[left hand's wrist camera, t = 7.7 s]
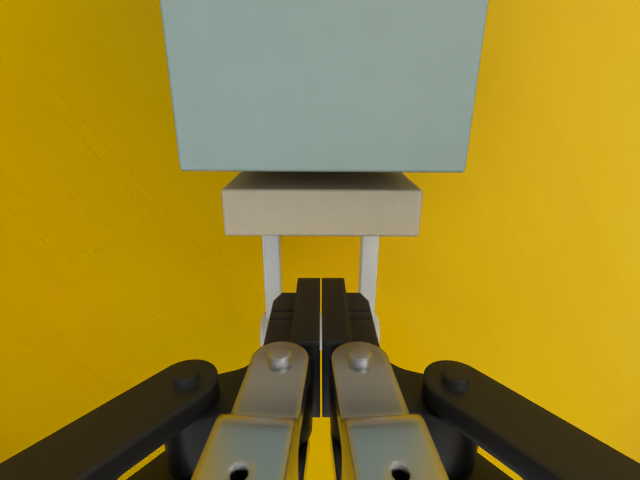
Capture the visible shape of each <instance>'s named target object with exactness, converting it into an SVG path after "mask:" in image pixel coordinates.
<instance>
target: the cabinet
mask: <svg viewBox="0 0 640 480" xmlns="http://www.w3.org/2000/svg"><path fill="white" fill-rule="evenodd" d="M160 5H161V14H162V22H163V30H164V38H165V47H166V55H167V63H168V71H169V80H170V88H171V96H172V105H173V113H174V121H175V129H176V138H177V146H178V154H179V163H180V169H181V170H183V171H278V172H464V171H465V166H466V159H467V152H468V145H469V137H470V130H471V123H472V116H473V108H474V101H475V94H476V87H477V79H478V72H479V65H480V57H481V50H482V43H483V36H484V28H485V21H486V14H487V7H488V0H160Z"/></svg>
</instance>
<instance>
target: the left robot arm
mask: <svg viewBox="0 0 640 480" xmlns="http://www.w3.org/2000/svg"><path fill="white" fill-rule="evenodd" d="M312 417H320V278H298V282H297V291H296V293H281V294H280V295H279V296H278V297H277V298H276V299H275V300H274V301H273V305H272V309H271V313H270V318H269V322H268V326H267V331H266V335H265V340H264V344H263V346H262V347H261V348H259V349H258V350H257V351H256V352H255V353H254V354H253V356H252V358H251V361H250V364H249V365H248V366H246V367H244V368H241V369H239V370H235V371H231V372H227V373H222V374H218V372H217V369H216V368H215V366H214V365H213V364H211V363H209V362H207V361H204V360H186V361H182V362H178V363H176V364H173V365H171V366H169V367H168V368H166V369H164V370H162V371H161V372H159V373H157V374H155V375H154V376H152V377H150V378H148V379H147V380H145V381H143V382H142V383H140V384H138V385H136V386H135V387H133V388H131V389H129V390H128V391H126V392H124V393H122V394H121V395H119V396H117V397H115V398H114V399H112V400H110V401H108V402H107V403H105V404H103V405H102V406H100V407H98V408H96V409H95V410H93V411H91V412H89V413H88V414H86V415H84V416H82V417H81V418H79V419H77V420H75V421H74V422H72V423H70V424H68V425H67V426H65V427H63V428H61V429H60V430H58V431H56V432H55V433H53V434H51V435H49V436H48V437H46V438H44V439H42V440H41V441H39V442H37V443H35V444H34V445H32V446H30V447H28V448H27V449H25V450H23V451H21V452H20V453H18V454H16V455H15V456H13V457H11V458H9V459H8V460H6V461H4V462H2V463H1V464H0V480H117V479H118V478H119V477H120V476H121V475H122V474H124V473H125V472H126V471H128V470H129V469H130V468H132V467H133V466H134V465H136V464H137V463H139V462H140V461H141V460H143V459H144V458H145V457H147V456H148V455H149V454H151V453H152V452H154V451H155V450H156V449H158V448H159V447H160V446H162V445H163V444H165V451H164V452H163V453H161V454H160V455H159V456H157V457H156V458H155V459H153V460H152V461H151V462H149V463H148V464H147V465H145V466H144V467H143V468H141V469H140V470H139V471H137V472H136V473H135V474H133V475H132V476H131V477H129V478H128V479H127V480H306V471H307V463H308V454H309V445H310V439H309V437H310V435H311V432H312ZM322 417H330V424H331V439H330V445H331V454H332V463H333V471H334V480H513V479H512V478H511V477H509V476H508V475H507V474H505V473H504V472H503V471H501V470H500V469H499V468H497V467H496V466H495V465H493V464H492V463H491V462H489V461H488V460H487V459H485V458H484V457H483V456H481V455H480V454H479V453H477V449H478V446H480V447H481V448H482V449H484V450H485V451H486V452H488V453H489V454H491V455H492V456H493V457H495V458H496V459H497V460H499V461H500V462H502V463H503V464H504V465H506V466H507V467H508V468H510V469H511V470H512V471H514V472H515V473H517V474H518V475H519V476H520V477H522V478H523V479H524V480H640V464H639V463H638V462H636V461H634V460H632V459H631V458H629V457H627V456H625V455H624V454H622V453H620V452H619V451H617V450H615V449H613V448H612V447H610V446H608V445H606V444H605V443H603V442H601V441H599V440H598V439H596V438H594V437H592V436H591V435H589V434H587V433H585V432H584V431H582V430H580V429H579V428H577V427H575V426H573V425H572V424H570V423H568V422H566V421H565V420H563V419H561V418H559V417H558V416H556V415H554V414H552V413H551V412H549V411H547V410H545V409H544V408H542V407H540V406H539V405H537V404H535V403H533V402H532V401H530V400H528V399H526V398H525V397H523V396H521V395H519V394H518V393H516V392H514V391H512V390H511V389H509V388H507V387H505V386H504V385H502V384H500V383H498V382H497V381H495V380H493V379H492V378H490V377H488V376H486V375H485V374H483V373H481V372H479V371H478V370H476V369H474V368H472V367H470V366H468V365H466V364H463V363H460V362H456V361H449V360H443V361H437V362H434V363H432V364H430V365H429V366H427V367H426V369H425V371H424V374H421V373H417V372H412V371H408V370H405V369H402V368H399V367H397V366H395V365H393V364H392V363H390V361H389V358H388V356H387V354H386V353H385V352H384V351H383V350H382V349H381V348H380V346H379V342H378V338H377V334H376V330H375V325H374V321H373V317H372V313H371V309H370V304H369V301H368V300H367V299H366V298H365V297H364V296H363V295H362V294H361V293H346V290H345V283H344V278H322Z"/></svg>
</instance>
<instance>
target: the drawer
mask: <svg viewBox="0 0 640 480" xmlns="http://www.w3.org/2000/svg"><path fill="white" fill-rule="evenodd" d="M221 195H222V207H223V218H224V230H225V234H226V235H228V236H262V245H263V265H264V285H265V305H266V313H264V314H263V316H262V319H261V328H260V343H261V347H262V346H263V344H264V340H265V335H266V331H267V326H268V322H269V318H270V313H271V309H272V305H273V301H274V300H275V299H276V298H277V297H278V296H279V295H280V294H281V293H282V264H281V236H361V240H360V261H359V283H358V293H361V294H362V295H363V296H364V297H365V298H366V299H367V300H368V301H369V304H370V309H371V313H372V317H373V321H374V325H375V330H376V334H377V338H378V342H379V343H380V325H379V319H378V316H377V314H375V298H376V282H377V267H378V251H379V236H418V234H419V227H420V217H421V207H422V197H423V191H422V190H421V189H420V188H419V187H418V186H416V185H415V184H414V183H413V182H412V181H411V180H410V179H408V178H407V177H406V176H405V175H404V174H403V173H402V172H278V171H241V172H240V173H239V174H238V175H237V176H236V177H235V178H234V179H233V180H232V181H231V182H230V183H228V184H227V185H226V186H225V187H224V188H223V189H222V191H221ZM320 350H322V313H320Z"/></svg>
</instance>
